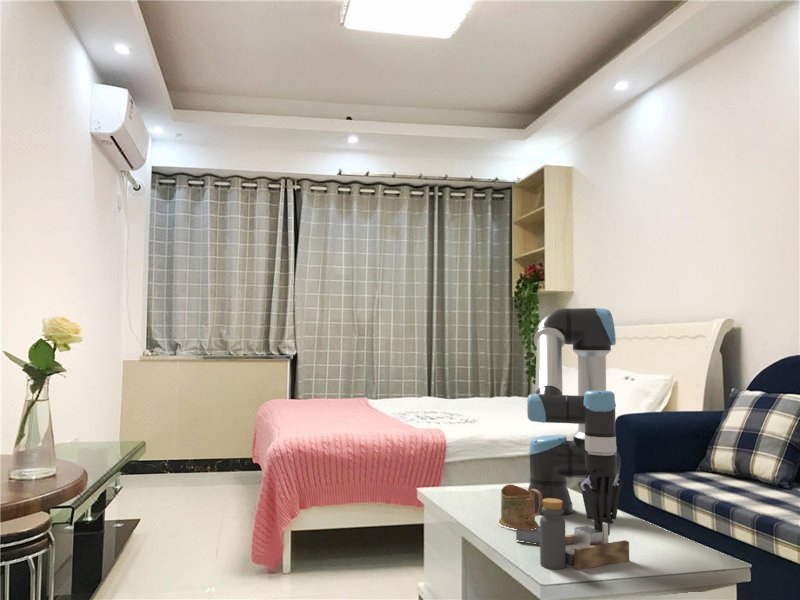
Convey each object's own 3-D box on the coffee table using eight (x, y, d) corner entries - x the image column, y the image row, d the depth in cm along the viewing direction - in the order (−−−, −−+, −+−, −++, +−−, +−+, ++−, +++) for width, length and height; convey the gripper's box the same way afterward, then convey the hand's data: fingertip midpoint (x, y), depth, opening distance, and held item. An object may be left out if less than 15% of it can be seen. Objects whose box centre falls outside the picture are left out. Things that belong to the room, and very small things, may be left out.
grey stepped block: (587, 554, 154) (586, 526, 154) (603, 561, 149) (602, 531, 149) (555, 560, 150) (555, 530, 150) (570, 567, 145) (570, 536, 145)
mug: (523, 538, 166) (523, 493, 167) (490, 521, 183) (490, 480, 184) (559, 534, 171) (558, 490, 172) (523, 518, 187) (523, 478, 188)
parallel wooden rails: (599, 548, 159) (599, 530, 159) (629, 560, 150) (629, 541, 150) (550, 556, 152) (550, 537, 153) (577, 569, 143) (577, 549, 144)
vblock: (541, 537, 168) (541, 525, 168) (575, 552, 156) (575, 539, 156) (514, 540, 164) (514, 529, 165) (547, 556, 152) (546, 544, 152)
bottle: (548, 570, 142) (548, 504, 144) (535, 562, 148) (535, 498, 149) (570, 568, 144) (570, 502, 145) (557, 560, 150) (556, 496, 151)
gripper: (608, 449, 161) (610, 542, 159) (570, 452, 155) (571, 548, 153) (631, 453, 154) (633, 550, 152) (591, 456, 149) (593, 557, 146)
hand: (602, 549), depth 153 cm, fingers closed
